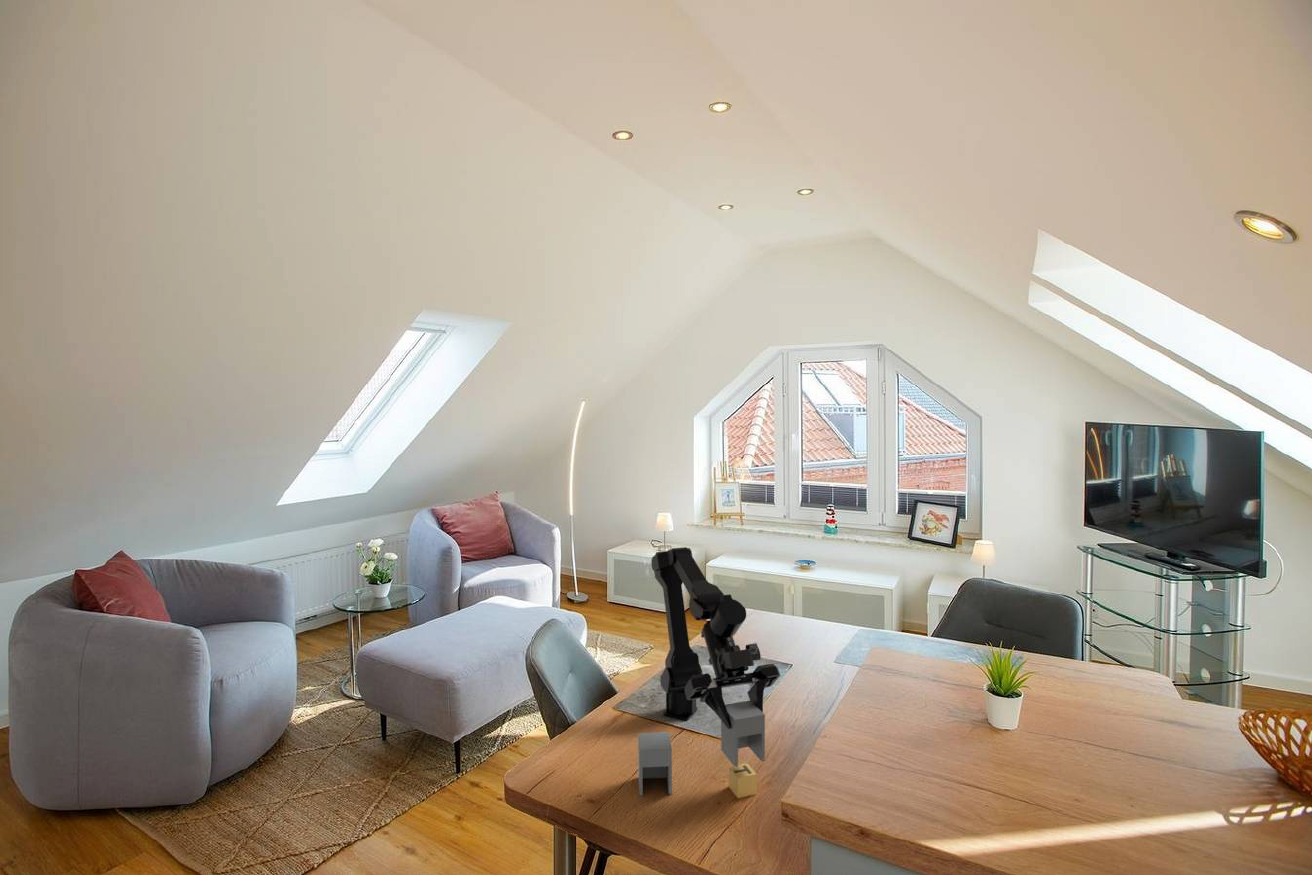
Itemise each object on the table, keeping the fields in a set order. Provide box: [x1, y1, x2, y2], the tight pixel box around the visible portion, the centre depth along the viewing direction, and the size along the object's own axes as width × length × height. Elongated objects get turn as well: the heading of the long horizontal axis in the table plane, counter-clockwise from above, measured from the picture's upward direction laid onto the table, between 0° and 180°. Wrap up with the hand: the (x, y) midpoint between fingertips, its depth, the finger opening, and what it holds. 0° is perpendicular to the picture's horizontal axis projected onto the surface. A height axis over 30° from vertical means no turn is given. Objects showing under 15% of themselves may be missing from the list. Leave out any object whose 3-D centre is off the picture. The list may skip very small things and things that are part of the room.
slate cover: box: [637, 731, 673, 797], centre depth 127 cm, size 6×6×9 cm
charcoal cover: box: [720, 700, 766, 767], centre depth 125 cm, size 6×6×9 cm
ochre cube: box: [728, 762, 758, 799], centre depth 125 cm, size 4×4×4 cm
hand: (745, 725), depth 123 cm, fingers closed on charcoal cover, 6 cm apart
